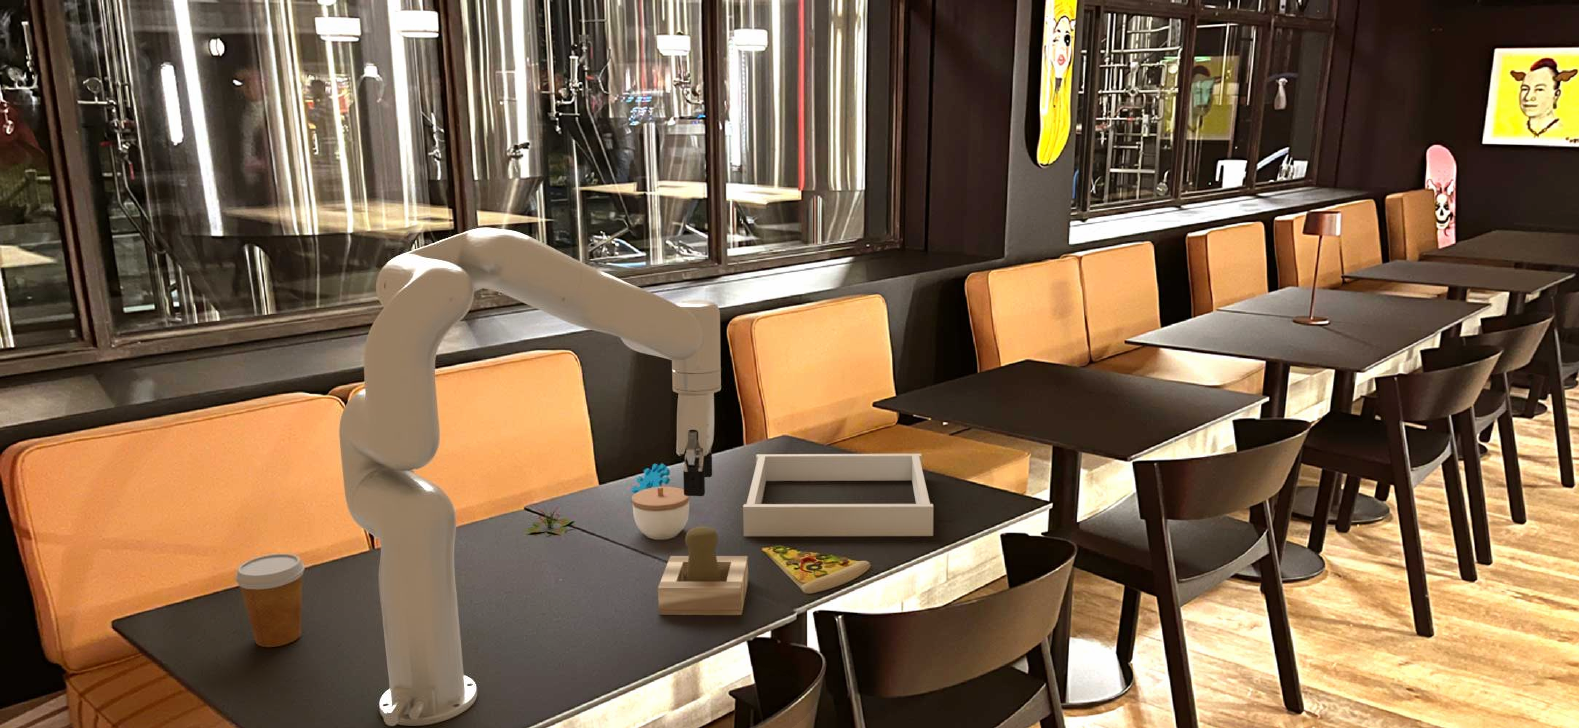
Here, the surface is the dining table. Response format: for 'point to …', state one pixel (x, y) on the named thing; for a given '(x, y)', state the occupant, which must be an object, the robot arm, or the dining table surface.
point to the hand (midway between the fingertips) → (698, 485)
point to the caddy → (704, 588)
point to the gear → (652, 478)
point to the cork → (702, 555)
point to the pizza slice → (815, 568)
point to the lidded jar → (661, 511)
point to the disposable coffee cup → (273, 597)
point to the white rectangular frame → (838, 516)
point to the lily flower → (550, 523)
